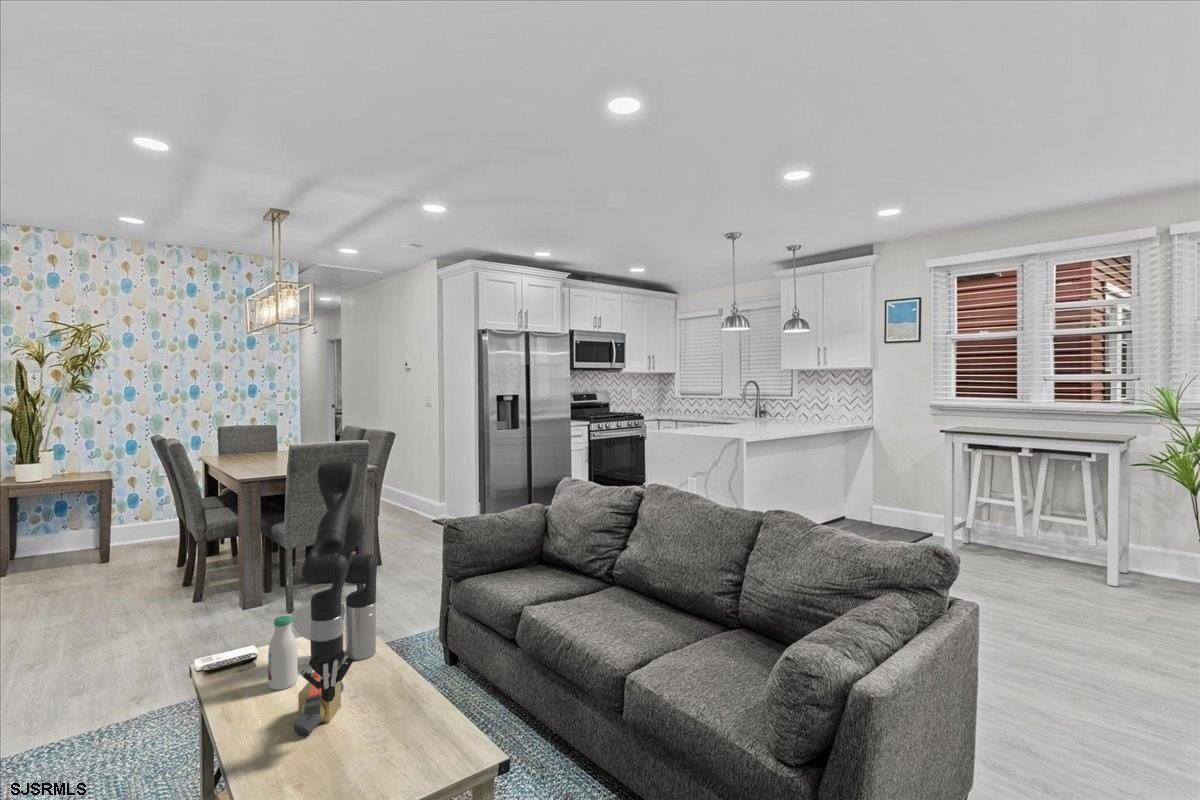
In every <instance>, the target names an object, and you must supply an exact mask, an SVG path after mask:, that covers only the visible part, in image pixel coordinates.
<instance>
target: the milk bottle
mask: <svg viewBox="0 0 1200 800" xmlns="http://www.w3.org/2000/svg"><path fill="white" fill-rule="evenodd" d="M273 624H274V626H273V627H274V632H273V635H272V637H271V640H270V642H269V646H268V656H267V657H268V659H267V660H268V663H267V664H268V665H267V666H268V667H267V668H268V669H267V671H268V672H267V673H268V674H267V675H268V677H267V679H268V681H267V683H268V688H269V689H271V690H273V691H282V690H287V689H289V688H291V687H294V685H296V684H297V682H298V664H297V660H298V643H297V638H296V636H295V634H294V633H293V631H292V627H291V626H292V616H289V615H283V616H278V617H276V618H275V619H274V621H273Z"/></svg>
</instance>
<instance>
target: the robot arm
mask: <svg viewBox="0 0 1200 800" xmlns="http://www.w3.org/2000/svg"><path fill="white" fill-rule="evenodd" d="M316 474H317V484H318V488H319V491H320V493H321V496H322V499H323V502H324V504H325V507H326V510H327V511H326V513H324V515H323V516H322V518H321V519H320V522H318V523H319V524H318V528H317V532H316V536H315V542H314V543H313V546H312V548H311V550H310V551H309V553H308V554H307V556H306V558H305V560H304V562H303V565H302V567H301V578H302V580H303V581H304V583H306V584H307V585H327V584H332V586H331V587H330V588H328V589H324V590H320V591H318V592H316V593H314V594H313V595H312V596H311V598H310V603H311V625H310V639H311V640H310V656H311V660H310V662H309V663H308V666H307V668H306V669H305V670H304V669H303V670H301V671H300V672H299V673H300V676H301V677H302V678H303V679H305V680H306V681H307V683H308V682H310V683H311V684H312V685H313V686H314V687H316V688H317V689H320V688H321V693H322V699H323V700H324V701H325V702H330V701H333V698H334V697H335V684H336V683H337V682H339V681H341V682H343V679H344V677H345V676H346V674H347V673H348V671H349V669H350V667H351V666H352V664H353V662H354V661H360V660H365V659H369V658H370V657H373V656H374V655H375V654H376V653H377V649H376V648H377V647H376V645H377V644H376V641H377V639H376V638H377V627H376V626H377V625H376V624H377V621H376V620H377V617H376V616H377V607H376V605H377V574H378V572H377V571H378V560H377V559H378V558H377V557H376V555H374V554H370V553H369V554H368V553H367V554H353V552H354V550H355V549H356V548H357V546H358V545H359V544H360V542H361V541H362V540H363V538H364V535H365V531H366V530H365V525H364V521H363V520H364V519H363V516H362V514H361V512H360V511H359V509H358V508H357V507H356V506H354V504H355V502H356V499H357V495H358V492H359V489H360V485H361V469H360V465H359V463H357V462H356V461H353V460H352V461H350V460H349V461H348V460H347V461H331V462H330V461H329V462H324V463H322V464H320V465H319V467H318V469H317V473H316ZM341 494H342V495H341ZM344 584H350V585H351V584H352V585H353V584H364V586H363V587H362V588H359V589H357V590H355V591H353V592H350V593H348V594H347V596H346V597H345V598H346V599H345V651H344V625H343V624H344V623H343V621H344V620H343V621H342V614H341V603H342V595H343V588H344ZM313 672H316V673H317V674H319V678H320V681H316V680H315V679H314V678H313V677H312V676H313Z"/></svg>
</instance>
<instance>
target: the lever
mask: <svg viewBox="0 0 1200 800" xmlns="http://www.w3.org/2000/svg"><path fill="white" fill-rule="evenodd" d="M312 672H313V676H312V677H313V678H314V679H315V680H316V681H320V678H319V674H317V673H316V672H315V671H312ZM321 705H322V693H321V688H320V689H317V688H316V687H314V686H313V685H312V686H311V690H310V693H309V697H308V699H306V703H305V706H304V716H306V715H313V714H319V713H320V710H321Z"/></svg>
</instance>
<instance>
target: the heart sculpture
mask: <svg viewBox="0 0 1200 800" xmlns="http://www.w3.org/2000/svg"><path fill="white" fill-rule="evenodd" d="M341 614H342V621H344V618H345V615H346V607H345V604H343V602H341ZM291 619H292V622H291V624H292V627H293V629H294V630H295V631H296V632H297V633H298V634H299V636H301V637H302V638H304V639H306V640H307V641H311V639H310V625H311V602H308V603H305V604H303V605H300V606H297V607H296V608H295V609H294V610H293V611H292V614H291ZM310 660H311V655H309V656H305V657H300V658H297V665H300V666H302V665H307V664H309V662H310Z"/></svg>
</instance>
